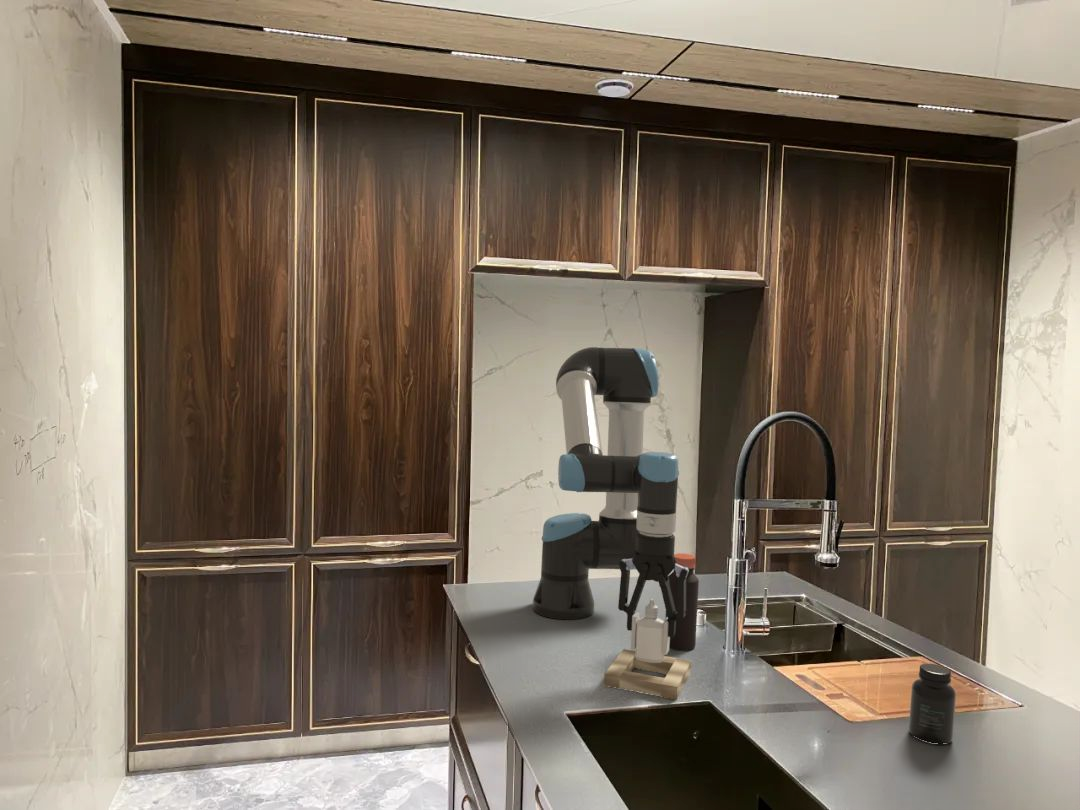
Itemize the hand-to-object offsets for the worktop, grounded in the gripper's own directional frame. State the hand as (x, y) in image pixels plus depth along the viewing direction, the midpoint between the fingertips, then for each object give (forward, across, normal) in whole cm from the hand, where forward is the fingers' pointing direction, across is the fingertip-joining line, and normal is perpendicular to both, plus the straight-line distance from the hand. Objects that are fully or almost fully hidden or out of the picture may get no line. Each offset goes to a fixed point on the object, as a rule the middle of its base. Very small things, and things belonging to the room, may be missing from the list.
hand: (649, 649), depth 159 cm
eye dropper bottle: (+2, 0, 0) cm, 2 cm away
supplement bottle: (+6, +50, -2) cm, 50 cm away
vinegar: (+6, +2, +21) cm, 22 cm away
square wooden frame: (+6, 0, 0) cm, 6 cm away
